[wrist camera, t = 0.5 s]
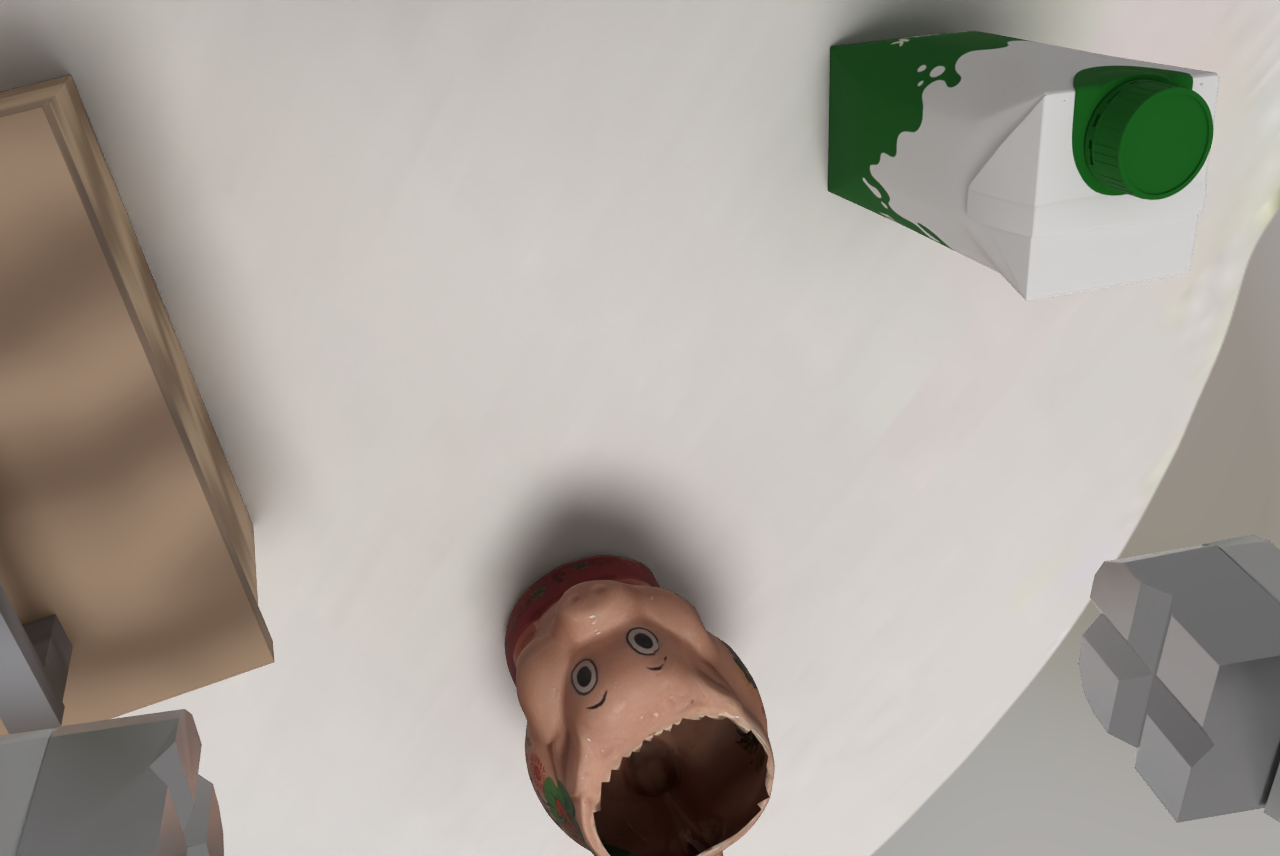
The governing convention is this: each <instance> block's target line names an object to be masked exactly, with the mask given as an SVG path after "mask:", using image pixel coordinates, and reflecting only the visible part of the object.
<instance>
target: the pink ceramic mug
mask: <svg viewBox="0 0 1280 856" xmlns="http://www.w3.org/2000/svg"><path fill="white" fill-rule="evenodd" d="M505 653H506V660H507V665H508V668H509V672H510V674H511V677H512V679H513V681H514V683H515V686H516V688H517V695H518V700H519V703H520V706H521V708H522V710H523V712H524V714H525V716H526V719H527V728H526V738H525V756H526V763H527V768H528V773H529V776H530V780H531V782H532V785H533V787H534V790H535V792H536V794H537V796H538V798H539V800H540V802H541V803H542V805H543V807H544V809H545V810H546V812H547V813H548V815H549V816H550V817H551V818H552V820H553V821H554V822H555V823H556V824H557V825H558V826H559V827H560V828H561V829H562V830H563V831H564V832H565V833H566V834H567V835H568V836H569V837H570V838H571V839H573V840H574V841H575V842H577V843H578V844H579V845H581V846H583V847H584V848H586V849H588V850H589V851H591V852H592V853H593V854H594V856H723V852H722V851H723V850H725V849H726V848H727V847H729V846H730V845H732V844H733V843H734V842H736V841H737V840H738V839H740V838H741V837H742V836H743V835H744V834H746V833H747V832H748V830H749V829H750V828H751V827H752V826H753V825H754V824H755V822H756V821H757V820H758V818H759V817H760V815H761V814H762V812H763V810H764V809H765V807H766V805H767V803H768V801H769V798H770V795H771V790H772V784H773V778H774V758H773V753H772V749H771V745H770V741H769V738H768V732H767V719H766V715H765V710H764V707H763V703H762V700H761V697H760V694H759V691H758V689H757V686H756V684H755V682H754V680H753V678H752V676H751V675H750V673H749V671H748V670H747V668H746V667H745V665H744V664H743V662H742V661H741V660H740V658H739V657H738V656H737V654H736V653H735V652H734V651H733V650H732V648H731V647H730V646H728V645H727V644H726V643H725V642H723V641H722V640H720V639H719V638H717V637H716V636H714V635H712V634H711V633H709V632H708V631H706V629H705V628H704V626H703V624H702V621H701V619H700V617H699V615H698V612H697V611H696V609H695V607H694V606H693V605H691V604H690V603H689V602H688V601H686V600H685V599H683V598H682V597H680V596H679V595H677V594H675V593H673V592H671V591H669V590H666V589H663V588H660V586H659V584H658V583H657V581H656V579H655V577H654V575H653V573H652V572H651V571H650V569H649V568H648V567H646V566H645V565H644V564H642V563H640V562H638V561H635V560H631V559H627V558H623V557H618V556H612V555H600V556H593V557H588V558H583V559H580V560H576V561H573V562H570V563H568V564H565V565H563V566H561V567H559V568H557V569H555V570H553V571H552V572H550V573H549V574H547V575H545V576H544V577H542V578H541V579H540V580H539V581H537V582H536V583H535V584H534V585H532V586H531V587H530V588H529V589H528V590H527V591H526V592H525V594H524V595H523V596H522V597H521V599H520V600H519V601H518V603H517V604H516V606H515V608H514V610H513V612H512V615H511V617H510V620H509V623H508V627H507V631H506V636H505Z"/></svg>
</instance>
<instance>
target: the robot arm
mask: <svg viewBox="0 0 1280 856" xmlns="http://www.w3.org/2000/svg"><path fill="white" fill-rule="evenodd" d="M1090 598H1091V599H1092V601H1093V602H1094V604H1095V605H1096V606H1097V608H1098V609H1099V611H1100V612H1101V615H1100V616H1099V617H1098V618H1097V619H1096V620H1095V621H1094V623H1093V624H1092V625H1091V626H1090V627H1089V628H1088V630H1087V631H1086V632H1085V633H1084V634H1083V636H1082V642H1081V649H1080V657H1079V663H1078V664H1079V670H1080V675H1081V681H1082V686H1083V691H1084V694H1085V696H1086V699H1087V701H1088V703H1089V705H1090V707H1091V710H1092V712H1093V714H1094V715H1095V716H1096V718H1097V719H1098V720H1099V722H1100V723H1101V724H1102V726H1103V727H1104V729H1105V730H1106V731H1107V733H1109V734H1111V735H1113V736H1115V737H1117V738H1119V739H1121V740H1123V741H1125V742H1127V743H1129V744H1131V745H1133V746H1134V747H1136V748H1137V749H1136V760H1135V769H1136V770H1137V772H1138V773H1139V774H1140V776H1141V777H1142V778H1143V780H1144V781H1145V782H1146V783H1147V785H1148V786H1149V787H1150V789H1151V790H1152V791H1153V793H1154V794H1155V795H1156V796H1157V798H1158V799H1159V800H1160V801H1161V803H1162V804H1163V805H1164V807H1165V808H1166V809H1167V810H1168V812H1169V813H1170V814H1171V816H1172V817H1173V818H1174V820H1175V821H1176V822H1184V821H1189V820H1195V819H1201V818H1207V817H1213V816H1219V815H1225V814H1230V813H1236V812H1242V811H1248V810H1254V809H1260V808H1265V810H1264V813H1266V814H1267V815H1269V816H1270V817H1272V818H1274V819H1275V820H1277V821H1278V822H1280V549H1278V548H1277V547H1276V546H1275V545H1274V544H1273V543H1271V542H1270V541H1268V540H1266V539H1263V538H1260V537H1258V536H1255V535H1249V536H1243V537H1238V538H1232V539H1227V540H1221V541H1216V542H1211V543H1205V544H1203V545H1202V546H1195V547H1188V548H1183V549H1177V550H1170V551H1164V552H1159V553H1152V554H1147V555H1141V556H1135V557H1129V558H1123V559H1117V560H1111V561H1105V562H1104V563H1103V564H1102V565H1101V567H1100V568H1099V570H1098V571H1097V573H1096V574H1095V577H1094V581H1093V586H1092V591H1091V595H1090ZM201 745H202V744H201V741H200V738H199V735H198V732H197V729H196V726H195V722H194V719H193V716H192V714H191V713H189V712H188V711H187V710H185V709H181V710H174V711H167V712H160V713H152V714H145V715H138V716H131V717H124V718H116V719H109V720H102V721H95V722H87V723H80V724H73V725H66V726H59V727H58V729H44V730H37V731H30V732H23V733H16V734H9V735H2V736H0V856H224V845H223V829H222V823H221V817H220V811H219V805H218V801H217V798H216V794H215V790H214V786H213V784H212V783H211V782H209V781H208V780H206V779H205V778H203V777H202V776H200V775H199V774H198V769H199V761H200V753H201Z"/></svg>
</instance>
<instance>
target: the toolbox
mask: <svg viewBox="0 0 1280 856" xmlns="http://www.w3.org/2000/svg"><path fill="white" fill-rule="evenodd" d="M273 662H274V652H273V641H272V638H271V636H270V633H269V631H268V629H267V626H266V624H265V621H264V619H263V617H262V614H261V612H260V609H259V607H258V596H257V580H256V564H255V547H254V531H253V525H252V523H251V520H250V518H249V515H248V513H247V510H246V508H245V505H244V503H243V500H242V498H241V495H240V493H239V490H238V488H237V486H236V483H235V481H234V478H233V476H232V473H231V471H230V468H229V466H228V463H227V461H226V458H225V456H224V453H223V451H222V448H221V446H220V443H219V441H218V438H217V436H216V433H215V431H214V428H213V426H212V423H211V421H210V418H209V416H208V414H207V411H206V409H205V406H204V404H203V401H202V399H201V396H200V394H199V391H198V389H197V386H196V384H195V381H194V379H193V376H192V374H191V371H190V369H189V366H188V364H187V361H186V359H185V356H184V354H183V351H182V349H181V346H180V344H179V342H178V339H177V337H176V334H175V332H174V329H173V327H172V324H171V322H170V319H169V317H168V314H167V312H166V309H165V307H164V304H163V302H162V299H161V297H160V294H159V292H158V289H157V287H156V284H155V282H154V279H153V277H152V274H151V272H150V270H149V267H148V265H147V262H146V260H145V257H144V255H143V252H142V250H141V247H140V245H139V242H138V240H137V237H136V235H135V232H134V230H133V227H132V225H131V222H130V220H129V217H128V215H127V212H126V210H125V207H124V205H123V202H122V200H121V198H120V195H119V193H118V190H117V188H116V185H115V183H114V180H113V178H112V175H111V173H110V170H109V168H108V165H107V163H106V160H105V158H104V155H103V153H102V150H101V148H100V145H99V143H98V140H97V138H96V135H95V133H94V130H93V128H92V126H91V123H90V121H89V118H88V116H87V113H86V111H85V108H84V106H83V103H82V101H81V98H80V96H79V93H78V91H77V88H76V86H75V83H74V81H73V78H72V76H71V75H69V76H65V77H61V78H56V79H52V80H48V81H44V82H40V83H36V84H32V85H28V86H24V87H20V88H16V89H12V90H7V91H3V92H0V736H2V735H9V734H16V733H23V732H30V731H37V730H44V729H58V727H59V726H66V725H73V724H80V723H87V722H95V721H102V720H108V719H111V718H114V717H117V716H120V715H123V714H126V713H129V712H132V711H134V710H137V709H140V708H143V707H146V706H149V705H152V704H155V703H158V702H160V701H163V700H166V699H169V698H172V697H175V696H178V695H181V694H184V693H187V692H189V691H192V690H195V689H198V688H201V687H204V686H207V685H210V684H213V683H215V682H218V681H221V680H224V679H227V678H230V677H233V676H236V675H239V674H242V673H244V672H247V671H250V670H253V669H256V668H259V667H262V666H265V665H268V664H270V663H273Z"/></svg>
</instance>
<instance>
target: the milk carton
mask: <svg viewBox="0 0 1280 856" xmlns="http://www.w3.org/2000/svg"><path fill="white" fill-rule="evenodd" d="M1218 85H1219V76H1218V75H1217V73H1214V72H1208V71H1201V70H1194V69H1188V68H1182V67H1176V66H1169V65H1163V64H1157V63H1150V62H1144V61H1138V60H1132V59H1125V58H1119V57H1113V56H1107V55H1101V54H1096V53H1091V52H1085V51H1080V50H1075V49H1070V48H1064V47H1059V46H1054V45H1048V44H1043V43H1038V42H1032V41H1027V40H1022V39H1016V38H1011V37H1006V36H1000V35H995V34H989V33H984V32H977V31H965V32H952V33H940V34H930V35H921V36H913V37H905V38H897V39H889V40H880V41H872V42H864V43H856V44H848V45H840V46H832V47H831V48H830V107H829V168H828V191H829V192H831V193H833V194H836V195H838V196H840V197H842V198H845V199H847V200H849V201H851V202H853V203H856V204H858V205H860V206H862V207H864V208H866V209H869V210H871V211H873V212H875V213H877V214H879V215H882V216H884V217H886V218H888V219H890V220H892V221H895V222H897V223H899V224H901V225H903V226H905V227H908V228H910V229H912V230H914V231H916V232H918V233H920V234H922V235H924V236H926V237H928V238H930V239H932V240H934V241H936V242H938V243H940V244H942V245H944V246H946V247H948V248H950V249H952V250H954V251H956V252H958V253H960V254H962V255H964V256H966V257H968V258H970V259H972V260H974V261H976V262H979V263H981V264H983V265H985V266H987V267H989V268H991V269H993V270H995V271H997V272H999V273H1000V274H1001V275H1002V276H1003V277H1004V278H1005V279H1006V280H1007V281H1008V282H1009V283H1010V284H1011V285H1012V286H1013V287H1014V288H1015V289H1016V290H1017V292H1018V293H1019V294H1020V295H1021V296H1022V297H1023V298H1024V299H1025V300H1026V301H1031V300H1037V299H1043V298H1049V297H1055V296H1061V295H1067V294H1074V293H1080V292H1086V291H1092V290H1098V289H1104V288H1110V287H1116V286H1122V285H1128V284H1134V283H1141V282H1147V281H1153V280H1159V279H1165V278H1171V277H1177V276H1183V275H1188V274H1189V273H1190V268H1191V261H1192V254H1193V247H1194V240H1195V233H1196V226H1197V219H1198V213H1201V212H1202V211H1203V207H1204V201H1205V194H1206V175H1207V168H1208V160H1209V153H1210V148H1211V144H1212V139H1213V123H1214V116H1215V108H1216V101H1217V93H1218Z"/></svg>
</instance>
